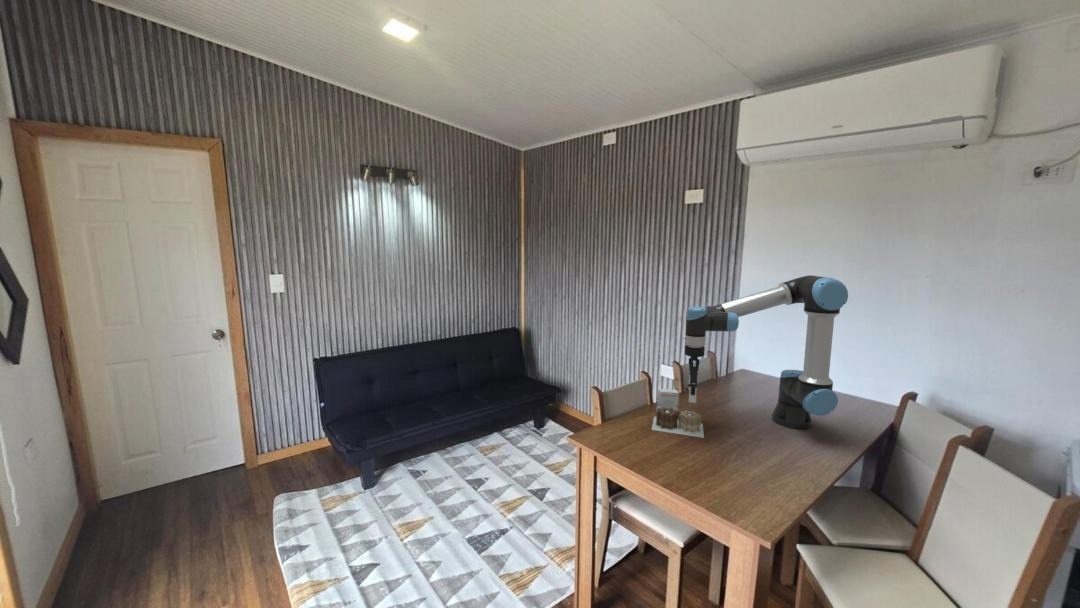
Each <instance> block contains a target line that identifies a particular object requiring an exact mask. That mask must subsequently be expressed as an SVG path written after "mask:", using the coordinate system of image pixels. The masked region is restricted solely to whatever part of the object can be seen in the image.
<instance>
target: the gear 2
mask: <svg viewBox="0 0 1080 608" xmlns="http://www.w3.org/2000/svg"><path fill="white" fill-rule="evenodd" d="M688 414H692V416H688ZM701 417H702V415H701V413H697V412H696V411H695V410H687V409H684V410H680V411H679V410H678V420H679V422H678V428H679V429H683V430H684V431H685V432H686V431H689V432H692V433H694V432H695V431H698V432H699V431H700V423H702V421H701Z"/></svg>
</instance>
